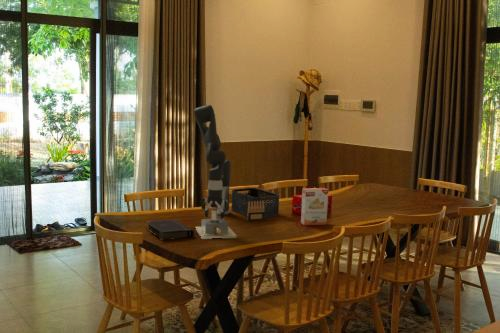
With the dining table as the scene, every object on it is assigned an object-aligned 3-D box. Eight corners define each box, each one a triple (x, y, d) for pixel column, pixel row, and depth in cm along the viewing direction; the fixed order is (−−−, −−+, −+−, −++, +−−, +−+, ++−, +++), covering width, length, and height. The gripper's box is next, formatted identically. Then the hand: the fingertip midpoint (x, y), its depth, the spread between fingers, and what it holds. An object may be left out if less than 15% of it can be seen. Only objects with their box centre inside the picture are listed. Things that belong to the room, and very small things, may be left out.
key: (209, 230, 302) (209, 207, 300) (212, 228, 305) (212, 205, 304) (216, 230, 300) (216, 207, 299) (218, 229, 304) (219, 206, 302)
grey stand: (195, 228, 309) (195, 218, 308) (227, 227, 313) (227, 217, 312) (202, 239, 288) (202, 228, 287) (236, 237, 292) (236, 227, 291)
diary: (177, 227, 313) (177, 218, 313) (194, 238, 292) (194, 229, 291) (144, 230, 305) (144, 221, 304) (159, 241, 283) (159, 232, 282)
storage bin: (280, 216, 346) (281, 194, 344) (255, 219, 335) (255, 197, 333) (253, 207, 369) (254, 187, 367) (229, 210, 358) (229, 189, 356)
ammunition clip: (247, 221, 329) (248, 201, 327) (246, 220, 331) (247, 200, 329) (264, 220, 333) (265, 200, 331) (263, 219, 334) (264, 199, 333)
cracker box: (304, 226, 321) (305, 189, 318) (300, 223, 327) (301, 188, 324) (327, 225, 325) (328, 189, 322) (323, 222, 331) (324, 187, 328)
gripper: (200, 188, 298) (199, 218, 300) (225, 190, 294) (225, 220, 297) (205, 186, 305) (204, 215, 308) (230, 188, 302) (229, 217, 304)
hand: (214, 217), depth 302 cm, fingers open, 8 cm apart
